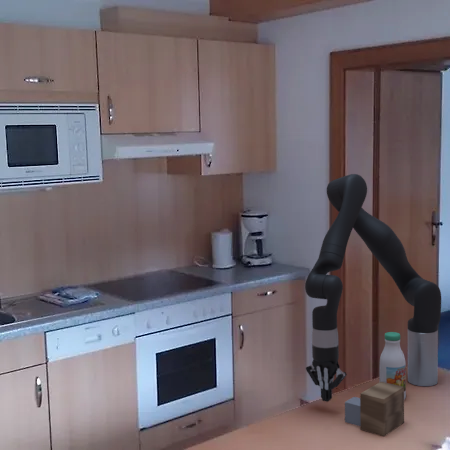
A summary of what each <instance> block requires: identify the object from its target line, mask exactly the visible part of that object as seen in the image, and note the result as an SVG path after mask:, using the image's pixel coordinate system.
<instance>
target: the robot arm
mask: <svg viewBox="0 0 450 450" xmlns="http://www.w3.org/2000/svg"><path fill="white" fill-rule="evenodd" d="M367 193H368V185H367V181H366V180H365V179H364V178H363V176H362V175H360V174H358V173H351V174H347V175H345V176H341V177H339V178H336V179H334V180H331V181H329V183H328V184H327V187H326V196H327V198H328V201H329V202H330V203H331V205H332V206H333V207H334V209H335V210H336V211H337V212H338V214H337V216H336V218H335V219H334V221H332V222H333V223H332V224H331V226H330V227H329V228H328V230H327V232H326V233H325V236H324V238H323V239H322V244H321V248H320V250H319V255H318V258H317V259H316V262H315V264H314V265H313V267H312V269H311V270H310V272H309V273H308V276H307V277H306V280H305V283H304V284H305V285H304V289H305V293H306V295H307V296H308V297H309V298H311V299H318V300H326V305H319V306H316V307H314V308H313V309H312V314H311V316H312V317H311V320H312V321H311V322H312V331H311V349H312V350H311V351H312V352H311V353H312V356H311V357H312V362H311V364H310V365H309V366H306V367H305V371H306V372H307V373H308V376H309V377H310V379H311V381H312V382H313V384H314V386H318V387H319V388H320V397H321V400H322V401H323V402H326V403H328V402H329V401H331V400H332V398H333V392H332V391H333V389H335V388H336V387H338V386H339V385H340V384H341V382H343V380H344V379H345V378H346V377H347V372H345V371H342V369H341V368H340V363H339V355H340V354H339V351H340V350H339V331H338V312H339V311H338V310H339V306H340V301H341V298H342V295H343V294H342V293H343V289H344V287H343V285H344V284H343V282H342V280H341V278H340V277H339V276H338V275H333V274H328V273H330V272H335V271H338V270H340V269H341V268H342V266H343V263H344V259H345V254H346V250H347V246H348V244H349V240H350V236H351V233H352V231H353V229H354V231H355V233H356V234H357V235H358V236H359V237H360V239H361V240H362V241H363V243H364V244H365V246H367V248H368V249H369V251H370V253H371V254H372V255H373V256H374V257H375V259H376V260H377V261H378V262H379V264H380V265H381V266H382V268H383V269H384V270H385V271H386V272H387V273H388V274H389V275H390V277H391V279H392V280H393V282H394V283H395V284H396V286H397V288H398V290H399V292H400V293H401V295H402V297H403V299H404V300H405V301H406V303H408V304H409V305H411V306H413V315H412V316H413V317H412V318H409V319H408V321H407V382H408V383H410V384H411V385H412V386H413V385H415V386H419V387H432V386H435V385H437V384H438V380H439V379H438V377H439V376H438V373H439V372H438V370H439V369H438V366H439V365H438V361H439V360H438V357H439V355H438V352H439V350H438V349H439V347H438V346H439V344H438V343H439V340H438V339H439V332H438V331H439V329H438V328H439V323H440V322H441V315H442V292H441V289H440V287H439V286H438V285H437V284H436V283H435V282H433V281H430V280H427V279H424V278H423V277H422V276H420V275H419V274H418V272H417V271H416V270H415V269H414V268H413V266H412V265H411V264H410V261H409V260H408V256H407V253H406V249H405V247H404V245H403V243H402V241H401V240H400V239H399V237H398V236H397V234H396V232H395V231H394V230H393V229H392V228H391V227H390V226H389V225H388V224H386V223H385V222H384V221H382V220H380V219H378V218H377V217H375V216H374V215H372V214H371V213H369V212H367V211H366V210H365V209H364V208H363V205H364V203H365V201H366V198H367ZM335 377H336V378H335Z"/></svg>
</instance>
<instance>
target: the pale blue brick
mask: <svg viewBox="0 0 450 450" xmlns="http://www.w3.org/2000/svg"><path fill="white" fill-rule="evenodd" d="M344 422H345V423H346V424H351V425H353V426H357V427H360V428H361V418H360V397H357V396H353V397H351V398H349V399H347V400H346V401H345V402H344Z"/></svg>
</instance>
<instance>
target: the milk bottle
mask: <svg viewBox="0 0 450 450" xmlns="http://www.w3.org/2000/svg"><path fill="white" fill-rule="evenodd" d="M384 342H385V344H384V347H383V349H382V352H381V354H380V358H379V382H386V383H390V384H394V385H399V386H403V387H404V401H405V399H406V397H407V367H406V366H407V365H406V363H407V361H406V359H405V358H406V356H405V355H404V352H403V350H402V348H401V344H400V343H401V334H400V333H399V332H395V331H389V332H385V333H384Z"/></svg>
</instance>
